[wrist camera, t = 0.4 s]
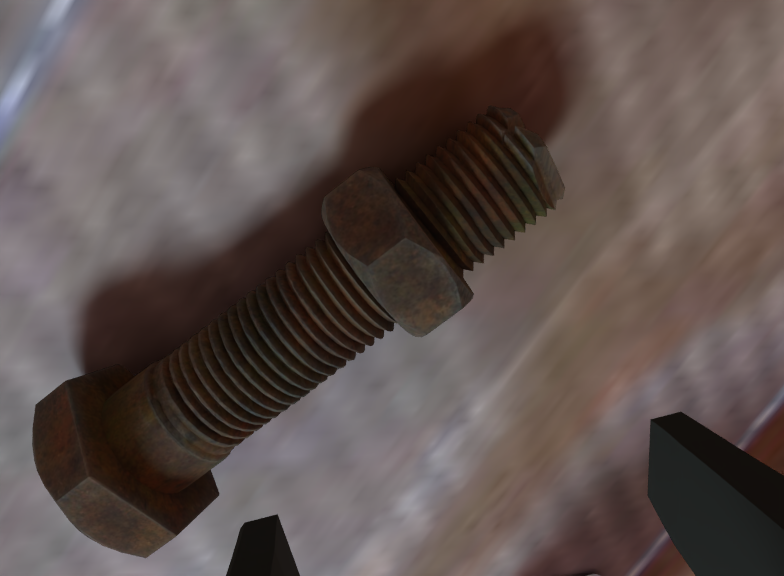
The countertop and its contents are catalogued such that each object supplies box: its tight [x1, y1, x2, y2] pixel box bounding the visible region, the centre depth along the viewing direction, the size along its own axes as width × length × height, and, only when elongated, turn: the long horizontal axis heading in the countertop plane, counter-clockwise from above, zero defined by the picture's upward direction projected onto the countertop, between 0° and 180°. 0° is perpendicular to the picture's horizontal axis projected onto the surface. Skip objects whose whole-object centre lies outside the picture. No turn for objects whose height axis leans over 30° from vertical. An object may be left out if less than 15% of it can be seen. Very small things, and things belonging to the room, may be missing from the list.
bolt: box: [32, 106, 565, 558], centre depth 18 cm, size 6×5×15 cm
